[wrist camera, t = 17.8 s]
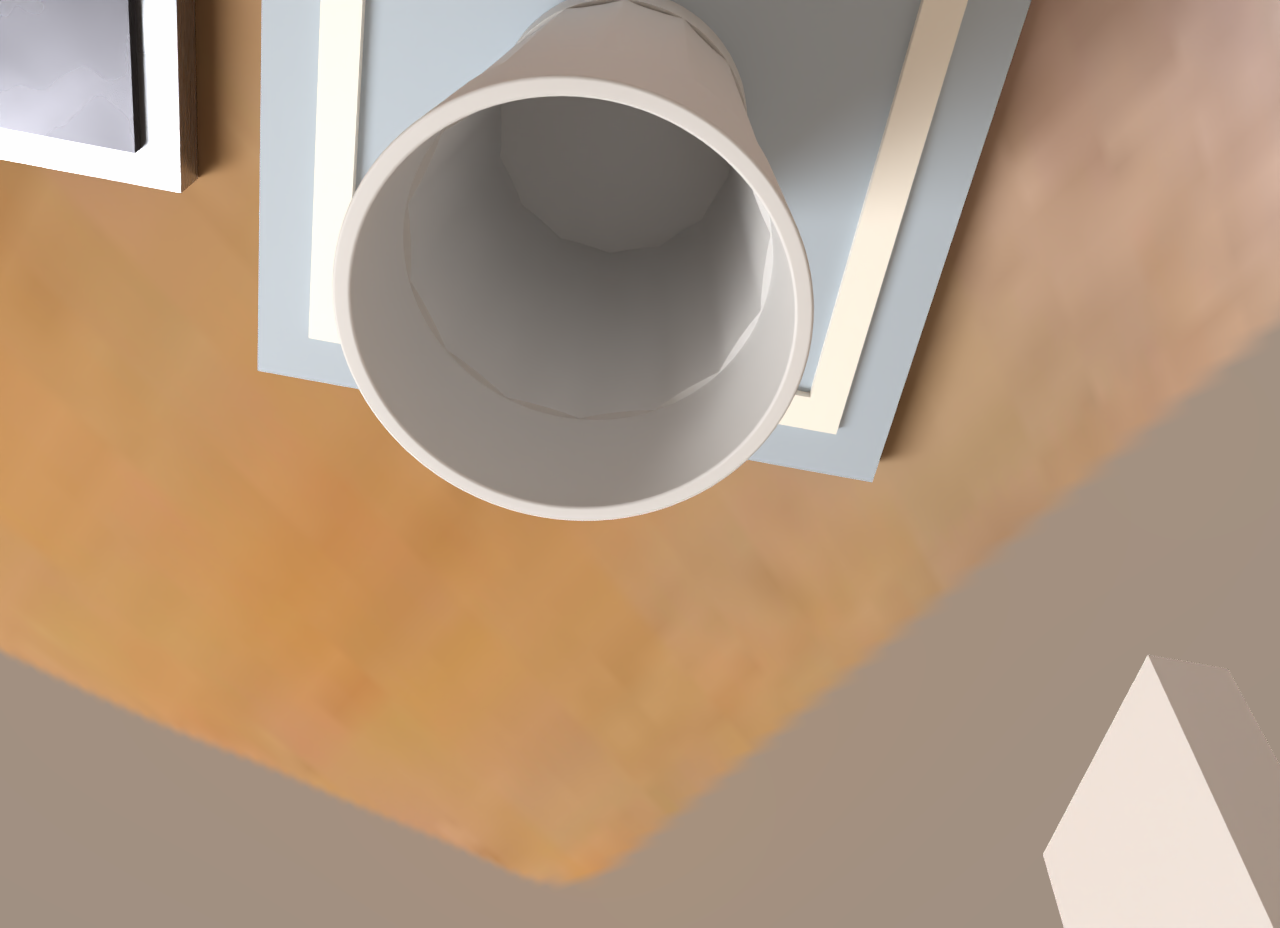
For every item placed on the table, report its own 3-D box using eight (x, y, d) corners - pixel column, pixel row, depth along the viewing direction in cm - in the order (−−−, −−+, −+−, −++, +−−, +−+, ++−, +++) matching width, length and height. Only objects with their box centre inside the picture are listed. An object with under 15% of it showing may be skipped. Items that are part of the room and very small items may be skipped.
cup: (685, -117, 27) (666, -28, 17) (834, 185, 31) (892, 410, 21) (399, 57, 30) (232, 228, 20) (566, 320, 33) (499, 583, 23)
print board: (268, 354, 35) (254, 375, 34) (280, -384, 26) (261, -389, 25) (868, 464, 36) (873, 487, 35) (1089, -215, 27) (1105, -212, 26)
